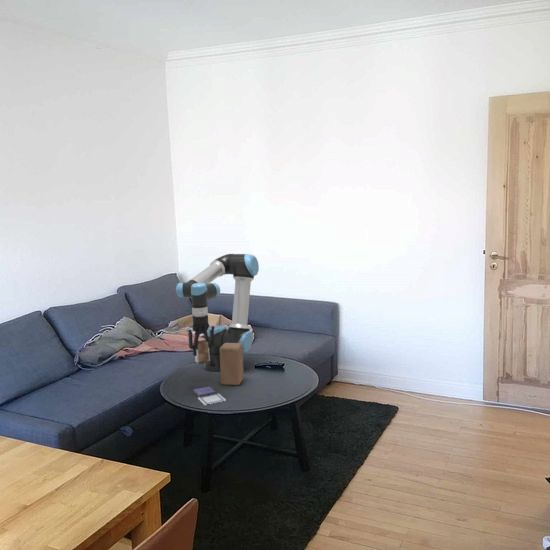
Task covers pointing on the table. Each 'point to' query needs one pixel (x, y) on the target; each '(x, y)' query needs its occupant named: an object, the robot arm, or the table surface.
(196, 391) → the ink pad
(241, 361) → the wooden block
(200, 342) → the stamp
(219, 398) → the print card
